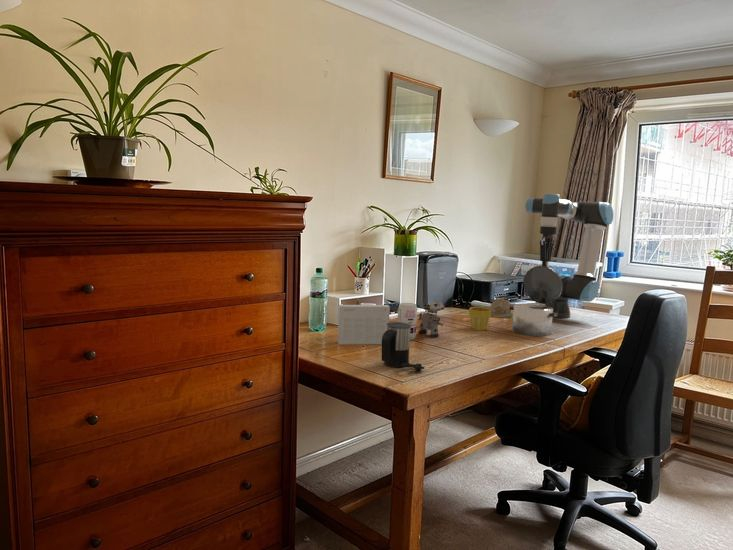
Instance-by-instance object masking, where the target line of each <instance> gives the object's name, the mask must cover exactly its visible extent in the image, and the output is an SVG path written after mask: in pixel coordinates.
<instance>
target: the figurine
mask: <svg viewBox="0 0 733 550" xmlns="http://www.w3.org/2000/svg"><path fill="white" fill-rule="evenodd" d="M422 308H423V310H426V311H427V312H426V313H423V311H421V312H420V313H419V316H418V321H421V322H420V325H419V327H418V328H419V329H418V332H417V333H418V334H419V335H423V334H427V333H428V331H430V334H429V337H430V338H438V337H440V336H439V335H440V334H439V329H438V328H439V326H441V327H444V323H445V322H444V321H443V323H442V322H440V321H441V317H440V316H438V315H437V314H438V312H439V311H441V310H444V309H445V306H444V304H443V303H442V301H438V300H434V301H432V302H428V303H425V304H424V305H423V306H422Z"/></svg>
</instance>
